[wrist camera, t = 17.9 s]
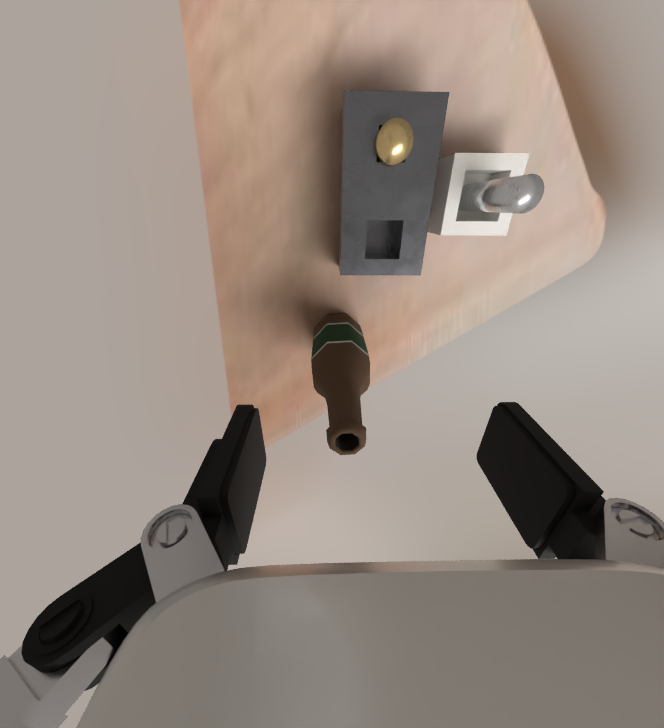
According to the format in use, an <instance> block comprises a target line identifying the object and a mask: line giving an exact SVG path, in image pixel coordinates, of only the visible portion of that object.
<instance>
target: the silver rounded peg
mask: <svg viewBox="0 0 664 728" xmlns="http://www.w3.org/2000/svg"><path fill="white" fill-rule="evenodd" d="M543 192H544V183H543V180H542V178H541V177H540V176H538V175H536V174H528V175H521V176H515V177H508V178H502V179H496V180H489V181H483V182H476V183H470V184H466V185H464V186H463V187H462V192H461V197H460V202H459V207H458V209H459V210H461V211H470V212H496V213H526V212H528V211H530V210H532V209H533V208H534V207H535V206H536V205H537V204H538V203H539V202H540V200H541V198H542V196H543Z"/></svg>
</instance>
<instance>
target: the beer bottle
mask: <svg viewBox="0 0 664 728" xmlns="http://www.w3.org/2000/svg"><path fill="white" fill-rule="evenodd" d="M311 362H312V374H313V384H314V388H315V390H316V391H317V393H319V394H320V395H321V396H323V397H324V398H325V399H326V402H327V406H328V416H329V426H330V427H329V428H328V429H327V442H328V445H329V447H330V449H332V450H334V451H336V452H337V453H339V454H340V455H349V454H356V453H357V452H358V451H359V450H360V449H362V448H363V447H364V446H365V443H366V427H364V426H363V425H362V417H361V405H360V396H361V395H362V394H363V393H364V392H365V391H366V390H367V389H368V387H369V384H370V361H369V355H368V351H367V348H366V344H365V341H364V337H363V334H362V330H361V328H360V325H359V324H358V323H356V322H355V321H354V320H353V319H352V318H351V317H350V316H348V315H347V314H346V313H345V314H328V315H326V316H325V317H324V319H323V320H322V321H321V322H320V323H319V324H318V325H317V326H316V327H315V330H314V338H313V348H312V358H311Z"/></svg>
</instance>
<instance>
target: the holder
mask: <svg viewBox="0 0 664 728" xmlns="http://www.w3.org/2000/svg"><path fill="white" fill-rule="evenodd" d="M529 154H530V153H453V154H451V155H449V156H446V157H444V158H441V159H439V162H438V168H437V175H436V181H435V188H434V194H433V200H432V207H431V213H430V219H429V226H428V232H430V233H434V234H438V235H503V236H506V235H507V231H508V228H509V224H510V221H511V217H512V214H513V213H496V212H470V211H461V210H459V209H458V207H459V202H460V197H461V192H462V187H463V186H464V185H466V184H470V183H476V182H483V181H489V180H496V179H502V178H508V177H515V176H521V175H524V171H525V168H526V164H527V161H528V157H529Z"/></svg>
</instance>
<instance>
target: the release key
mask: <svg viewBox="0 0 664 728" xmlns="http://www.w3.org/2000/svg"><path fill="white" fill-rule="evenodd" d="M412 146H413V131H412V129H411V126H410V125H409V124H408V122H407V121H405V120H404V119H401V118H393V119H390V120H388V121H387V122H386V123H385V124H384V125H383V126H382V127H381V129H380V130H379V132H378V134H377V137H376V142H375V147H376V153H377V160H376V162H383V163H385V164H387V165H396V164H398V163H400V162H402V161H403V160H404V159H406V157H407V156H408V155H409V153H410V151H411V149H412Z"/></svg>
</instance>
